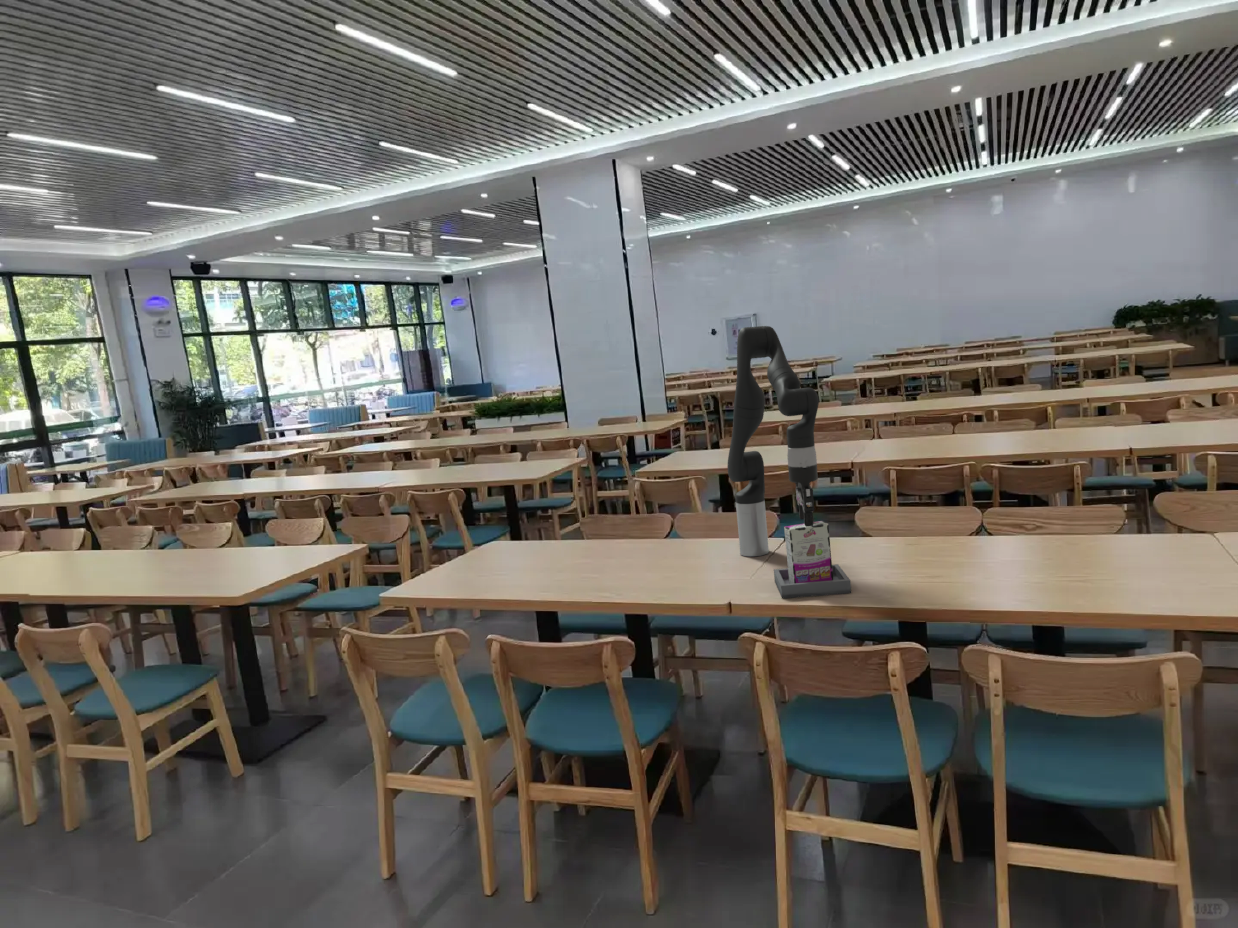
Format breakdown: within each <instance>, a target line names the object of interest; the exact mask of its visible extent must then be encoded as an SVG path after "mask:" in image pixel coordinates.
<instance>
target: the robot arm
mask: <svg viewBox="0 0 1238 928" xmlns="http://www.w3.org/2000/svg"><path fill="white" fill-rule="evenodd" d="M736 346H737V347H736V381H735V382H736V383H735V392H734V401H733V403H734V404H733V415H732V416H733V418H732V420H733V421H732V432H731V440H730V446H729V450H728V457H727V475H728V477H729V479H730V481H731V482H733V483H742V482H748V484H747V485H746V486H745V487H744V488H742V489H741V490H740V491H737V492H736V493H735V497H734V498H735V508H736V521H737V528H738V529H737V530H738V531H737V533H738V542H739V544H738V545H739V546H738V547H739V554H740V555H741V556H744V557H760V556H765V555H767V554H769V553H770V552H769V551H770V550H769V538H768V525H767V511H766V503H765V494H766V493H765V492H766V487H765V463H764V459H763V456H762V454H761V452H759V450H758V451H757V450H749V451H745V450H746V447H747V444H748V442H749V441H750V440H751V438H752V436H753V435H754V433H756V431H757V430H758V428H759V427H760V425H761V424H762V422H763V420H764V414H765V407H766V406H765V404H766V397H765V394H764V392H763V390H762V388H761V386H760V385H759V383H758V382H757V380H756V379H755V376H754V374H753V372H752V367H751V363H752V362H751V361H752V359H761V358H762V359H765V358H768V357H769V358H770V359H771V360H770V362H769V364H768V366H767V370H766V372H767V373H766V375H767V380H768V382H769V384H770V385H771V387H772V388H773V390H774V391H775V395H776V399H777V408H778V410H779V412H780V414H782V415H783V416H785V417H795V416H802V417H801V419H800V420H799V421H798V422H797V423H794V424H792V425H789V426H788V427H787V429H786V439H787V440H786V441H787V442H786V444H787V454H786V456H787V471H788V481H789V482H791V483H794V484H795V493H796V495H795V497H796V502H797V505H798V512H799V513H798V514H799V519H800V520H803V524H805V526H813V522H814V512H815V509H816V508H815V502H814V489H813V487H811V484H810V483H811V482H816V481H817V480H818V478H819V477H818V476H819V475H818V461H817V460H818V459H817V451H816V447H815V433H814V431H815V424H816V418H817V413H818V410H819V402H820V400H819V395H818V393H817V391H816V390H815V389H814V388H812V387H801V381H800V379H799V377H798V376H797V374H796V373H795V371H794V369H793V368H792V367H791V365H790V363H789V362H788V361H789V360H787V356H786V354H785V352H784V349H783V345H782V343H781V340H780V339H779V335H778V334H777V332H776V330H775V329H774V327H772V326H769V325H764V326H763V325H761V326H746V327H745V326H744V327H743V328H742V327H741V328H740V330H739V332H738V335H737V341H736Z"/></svg>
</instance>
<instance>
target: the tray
mask: <svg viewBox="0 0 1238 928" xmlns="http://www.w3.org/2000/svg"><path fill="white" fill-rule="evenodd" d="M832 572H833V580H831V581H818V582H806V583H793V584H790V583H789V574H788V567H786V568H777V569H775V568H773V580H774V583H775V586H776V588H777V590H778V593H779V595H780V597H781V599H782V598H784V599H794V598H795V599H796V598H806V597H807V598H809V597H819V596H822V597H823V596H830V595H831V596H833V595H845V594H848V595H849V594H852V584H851V579H850V578H849V576H848V575H847V574H846V572H845V571H844V570H843V568H841V566H840V564H839V563H836V564H832Z"/></svg>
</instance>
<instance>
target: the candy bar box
mask: <svg viewBox="0 0 1238 928" xmlns="http://www.w3.org/2000/svg"><path fill="white" fill-rule="evenodd" d="M783 531H784V539H785V550H786V560H787V568H788V574H789V583H790V584H793V583H806V582H818V581H831V580H833V572H832V565H833V563H832V561H833V560H832V554H831V553H832V551H831V540H830V539H831V538H830V527H829V523H827V522H825V521H823V520H820V521H813V526H805V524H804V523H800V524H793V525H788V526H787V525H786V526H783Z"/></svg>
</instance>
